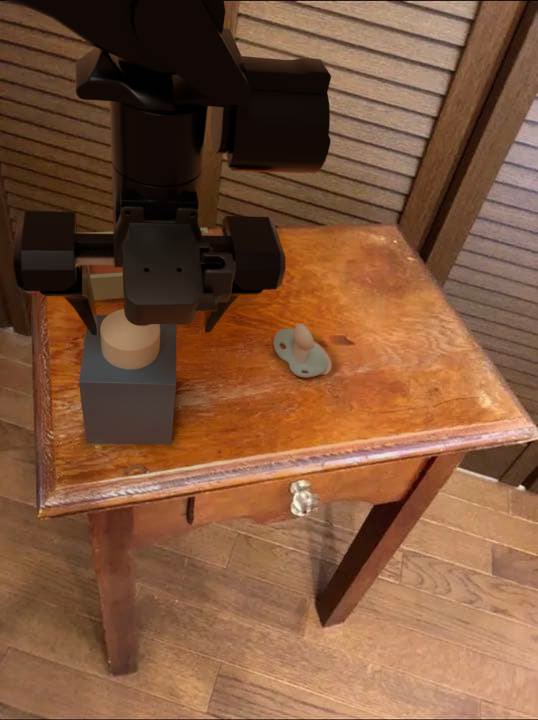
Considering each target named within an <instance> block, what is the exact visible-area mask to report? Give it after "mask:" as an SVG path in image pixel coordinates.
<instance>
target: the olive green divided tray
mask: <svg viewBox="0 0 538 720" xmlns="http://www.w3.org/2000/svg"><path fill="white" fill-rule="evenodd" d="M200 229H201V232H202V233H210V232H209V230H208V227H200ZM91 233H95V234H113V231H95V232H93V231H92V232H91ZM88 270H89V275H90V280H91V285H92V290H93V295H94V300H95V301H105V300H115V299H116V300H117V299H118V300H119V299H124V293H123V267H114V265H88Z"/></svg>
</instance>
